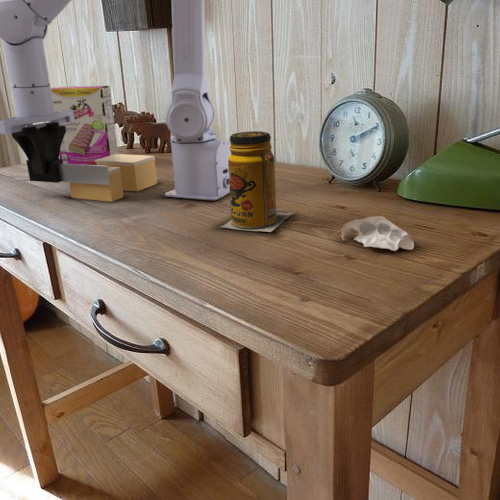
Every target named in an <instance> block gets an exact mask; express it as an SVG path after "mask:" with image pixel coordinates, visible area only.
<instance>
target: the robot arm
mask: <svg viewBox="0 0 500 500" xmlns="http://www.w3.org/2000/svg"><path fill="white" fill-rule="evenodd" d="M72 1H73V0H1V1H0V39H1V40H2V42H3V47H4V53H5V58H6V63H7V68H8V74H9V79H10V86H11V90H12V95H13V100H14V105H15V111H16V115H14V116H13V117H9V118H5V119H1V120H0V135H5V136H6V135H11V137H12V139H13V140H14V141H15V142H16V143H17V145H18V146H19V147H20V149H21V151H22V152H23V153H24V154H25V157H26V159H27V160H29V162H30V164H31V166H32V169H33V171H34V173H35V174H42V175H44V174H47V165H46V158H47V159H60V156H59V154H60V148H61V144H62V141H63V138H64V135H65V133H66V127H65V126H59V124H61V123H66V122H74V121H75V120H74V113H73V110H62V111H55V109H54V103H53V97H52V91H51V88H52V86H51V79H50V73H49V67H48V61H47V55H46V49H45V45H44V40H45V38H46V37H47V35H48V31H49V25H51V23H53V22H54V20H56V19H57V18H58V16H59V15H60V14H61V13H62V12H63V11H64V10H65V9H66V8H67V6H69V4H70V3H72ZM205 11H206V10H205V0H171V25H172V56H173V58H172V59H173V80H172V81H173V82H172V86H171V102H170V105H169V106H168V108H167V112H166V119H165V120H166V126H167V128H168V130H169V131H170V133H171V136H170V148H171V149H170V150H171V160H172V169H173V180H174V189H171V190H170V191H167V192H165V193H164V197H169V198H178V199H179V198H181V199H190V200H199V201H210V202H211V201H212V202H214V201H217V200H219V199H221V198H223V197H224V196H226V195H229V194H230V182H229V166H228V158H229V156H230V154H231V151H230V145H231V144H230V142H228V141H227V140H220V139H218V138H217V136H216V133H215V132H214V131H213V130H212V127H210V126H211V125H212V124H213V121H214V118H215V108H214V104H213V103H212V101H211V100H210V96H209V85H208V81H207V75H206V71H207V70H206V16H205V14H206V12H205Z"/></svg>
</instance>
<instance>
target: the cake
mask: <svg viewBox="0 0 500 500" xmlns="http://www.w3.org/2000/svg"><path fill="white" fill-rule="evenodd" d="M155 159H156V158H155V155H144V154H142V155H141V154H124V153H118V154H114V155H111V156H107V157H104V158H101V159H97V160H94V161H95V162H96V163H97V165H103V166H108V167H120V173H121V181H122V189H123V191H126V192H127V191H128V192H140V191H142V190H145V189H147V188H149V187H152V186H155V185H158V178H157V168H156V160H155Z"/></svg>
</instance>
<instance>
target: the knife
mask: <svg viewBox="0 0 500 500" xmlns="http://www.w3.org/2000/svg"><path fill="white" fill-rule="evenodd" d="M25 162H26V167H27V172H28V177H29V181H30V182H38V183H39V182H41V183H54V184H58V183H62V182H63V183H69V182H73V183H88V184H102V185H110V179H109V172H108V166H103V165H84V164H64V163H63V162H62V159H60V158H59V159H47V158H46V165H47V174H44V175H42V174H35V173H34V171H33V169H32V166H31V164H30V162H29V160H28V159H26V161H25Z"/></svg>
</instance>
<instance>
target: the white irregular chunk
mask: <svg viewBox="0 0 500 500" xmlns="http://www.w3.org/2000/svg"><path fill="white" fill-rule="evenodd" d="M355 234H357V235H356V236H355V237H354V238H353V241H356V242H358V243H361V244H363V247H366V248H367V247H371V248H379V249H387V250H390V251H392V252H393V251H394V252H396V251H397V250H398V249H399V248H401V249H403V250H409V251H410V250H414V248H415V242H414V241H413V239H412V238H411V236H410V234H409V233H408V232H407V231H406V230H403V229H402V228H401V227H398V226H397V225H395V224H394V222H391V221H390V220H388V219H387V218H386V217H385V216H382V215H374V216H369V217H363V218H361V219H353V220H350V221H348V222H346V223H344V224H343V225H342V226H341V229H340V235H341V236H340V237H341V240H342V241H345V236H352V235H355Z"/></svg>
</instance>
